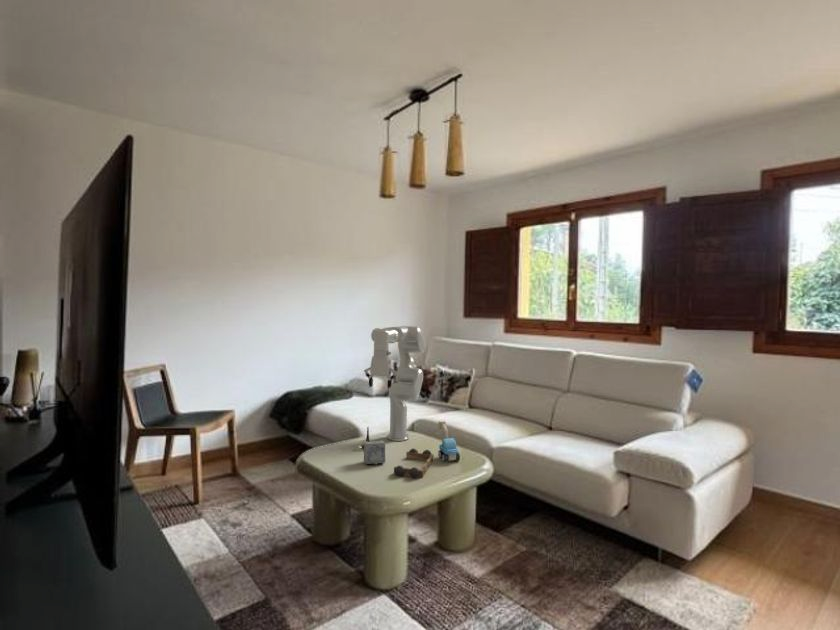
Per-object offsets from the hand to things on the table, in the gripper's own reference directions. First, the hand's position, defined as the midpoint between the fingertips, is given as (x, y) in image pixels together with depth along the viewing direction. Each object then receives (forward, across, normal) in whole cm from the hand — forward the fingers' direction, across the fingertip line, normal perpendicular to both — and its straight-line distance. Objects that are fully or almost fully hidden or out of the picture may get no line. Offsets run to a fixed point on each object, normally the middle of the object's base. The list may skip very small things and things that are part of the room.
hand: (380, 387), depth 234 cm
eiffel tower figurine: (+35, +8, -7) cm, 37 cm away
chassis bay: (+35, -22, +12) cm, 43 cm away
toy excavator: (+35, -35, -6) cm, 49 cm away
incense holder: (+35, -2, +11) cm, 37 cm away
